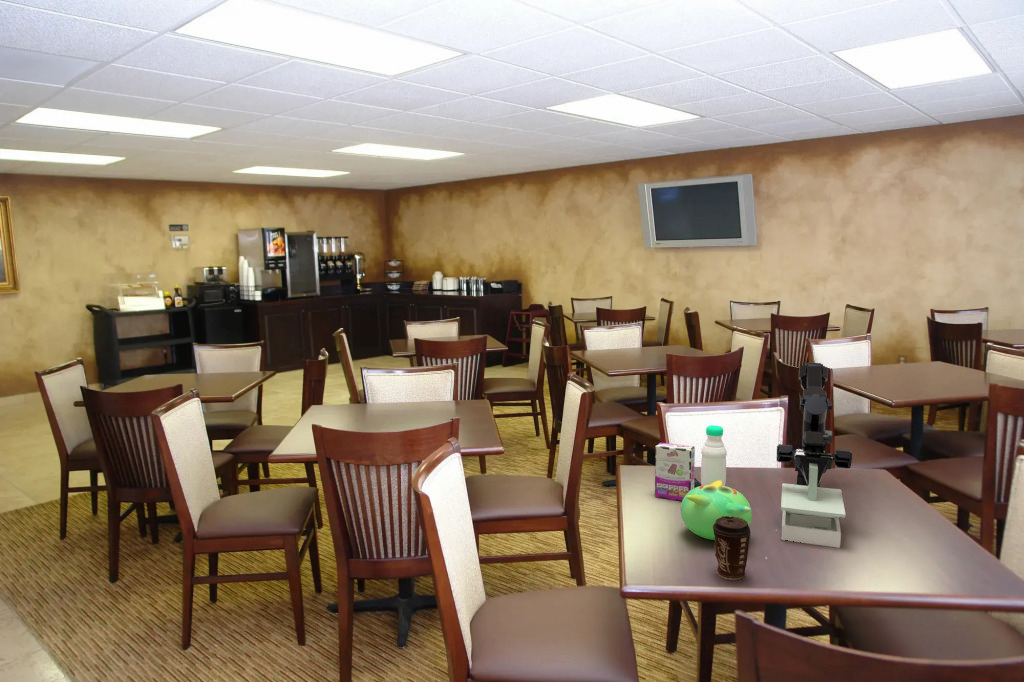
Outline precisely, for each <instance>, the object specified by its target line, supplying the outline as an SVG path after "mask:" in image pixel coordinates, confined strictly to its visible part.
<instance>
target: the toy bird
mask: <svg viewBox="0 0 1024 682" xmlns="http://www.w3.org/2000/svg"><path fill="white" fill-rule="evenodd" d="M680 515H681V520H682V521H683V523H684V525H685V526H686V527H687V529H688V530H690V531H691V532H692V533H693V534H695V535H697V536H699V538H700V537H701V538H703V539H706V540H710V541H711V540H712V541H715V536H714V531H713V525H714V524H715V522H716V520H717V519H718V518H721V517H722V516H729V517H732V516H733V517H739V518H742V519H744V520H745V521H747V523H748V526H749V527H750V524H751V522H752V519H753V518H752V515H753V514H752V508H751V505H750V503H749V501H748V499H747V498H746V497H745V496H744V494H742V493H741V492H740V491H738V490H736V489H734V488H732V487H729V486H728V485H727V486H726V485H725V486H723V485H722V481H721V480H718V481H715V482H713V483H712V484H709V485H702V486H699V487H696V488H694V489H692V490H691V491H689V492H688V493H687V494H686V496H685V497H684V499H683V501H681V505H680Z"/></svg>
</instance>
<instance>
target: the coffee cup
mask: <svg viewBox="0 0 1024 682" xmlns="http://www.w3.org/2000/svg"><path fill="white" fill-rule="evenodd" d="M713 531H714V536H715V540H714V556H715V558H716V560H717V567H716V568H717V569H716V574H718V575H717V576H718V577H720V576H721V577H720V578H722V577H723V578H722V579H724V578H725V579H724V580H727V579H729V580H728V581H737V579H738V580H741V578H742V579H744V577H745V576H746V567H747V563H748V556H749V548H750V546H749V545H750V538H751V527H750V525H749V526H748V523H747V521H745V520H744V519H742V518H739V517H733V516H732V517H729V516H722V517H721V518H718V519H717V520H716V522H715V524H714V525H713Z"/></svg>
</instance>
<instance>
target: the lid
mask: <svg viewBox="0 0 1024 682" xmlns="http://www.w3.org/2000/svg"><path fill="white" fill-rule="evenodd" d="M817 476H818V465H817V464H814V463H809V485H808V486H803V485H797V484H793V483H781V501H780V502H781V503H780V511H783V510H785V511H788V512H790V513H799V514H807V515H815V516H824V517H832V518H837V517H839V518H844V519H845V518H846V516H847V515H846V510H845V505H844V498H843V493H842V489H839V488H830V487H829V488H828V487H821V486H820V487H817Z"/></svg>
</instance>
